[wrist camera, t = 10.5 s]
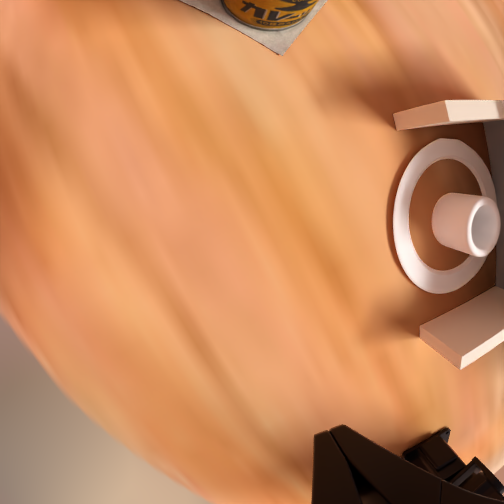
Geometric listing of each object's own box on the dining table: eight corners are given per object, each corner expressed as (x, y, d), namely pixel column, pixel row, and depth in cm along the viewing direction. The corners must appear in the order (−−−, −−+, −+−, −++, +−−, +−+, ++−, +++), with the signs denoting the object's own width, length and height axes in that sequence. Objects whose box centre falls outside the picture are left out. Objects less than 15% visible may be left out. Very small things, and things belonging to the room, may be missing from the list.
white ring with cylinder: (432, 107, 19) (471, 99, 15) (505, 201, 22) (539, 207, 18) (357, 239, 21) (391, 253, 17) (447, 314, 24) (480, 333, 19)
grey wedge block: (501, 292, 24) (548, 314, 18) (419, 337, 23) (468, 376, 17) (487, 108, 20) (543, 101, 13) (392, 113, 19) (456, 97, 12)
